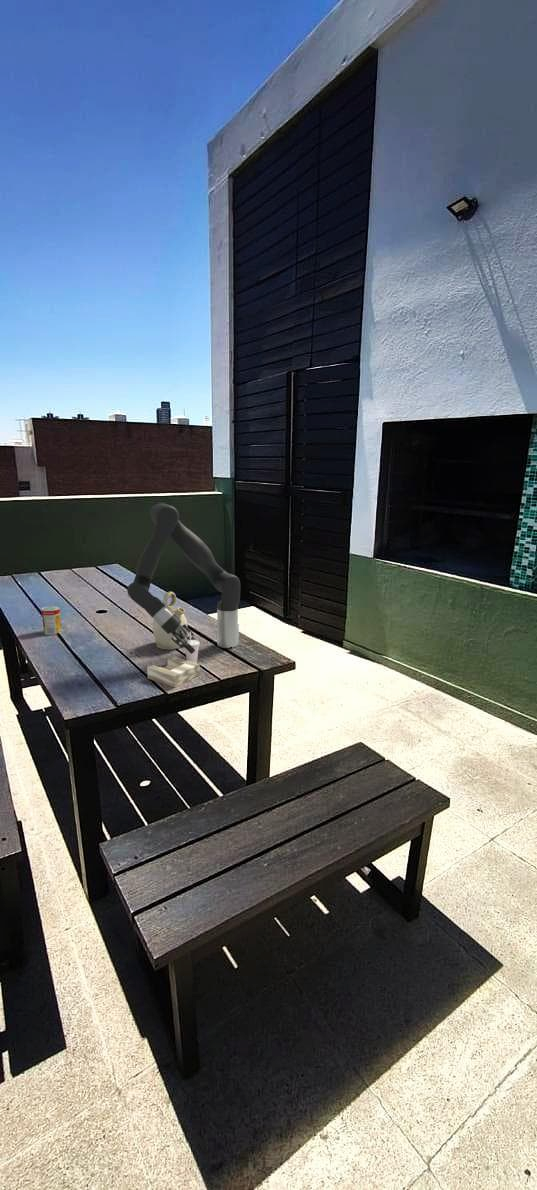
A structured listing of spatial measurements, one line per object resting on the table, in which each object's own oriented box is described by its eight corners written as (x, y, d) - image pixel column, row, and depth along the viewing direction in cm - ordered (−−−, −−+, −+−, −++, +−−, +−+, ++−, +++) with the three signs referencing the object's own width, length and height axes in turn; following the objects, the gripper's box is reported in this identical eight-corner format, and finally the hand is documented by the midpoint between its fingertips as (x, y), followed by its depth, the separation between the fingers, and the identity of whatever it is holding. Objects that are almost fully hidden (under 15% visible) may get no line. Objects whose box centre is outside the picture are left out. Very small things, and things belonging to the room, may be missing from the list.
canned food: (62, 629, 238) (60, 605, 235) (61, 634, 231) (59, 610, 228) (44, 630, 236) (42, 606, 233) (43, 635, 229) (40, 611, 226)
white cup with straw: (184, 661, 203) (184, 629, 199) (200, 661, 203) (200, 629, 199) (183, 667, 196) (182, 634, 193) (199, 667, 197) (199, 634, 193)
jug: (194, 645, 222) (193, 591, 215) (166, 653, 211) (164, 598, 204) (174, 636, 232) (173, 585, 225) (146, 644, 221) (144, 591, 214)
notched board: (172, 666, 197) (172, 656, 196) (199, 674, 190) (199, 664, 189) (147, 678, 186) (147, 667, 185) (175, 687, 179) (175, 676, 178)
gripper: (167, 619, 188) (197, 649, 190) (178, 608, 202) (206, 637, 204) (154, 631, 190) (184, 661, 192) (166, 620, 204) (194, 648, 206)
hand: (195, 649), depth 198 cm, fingers closed on white cup with straw, 6 cm apart
